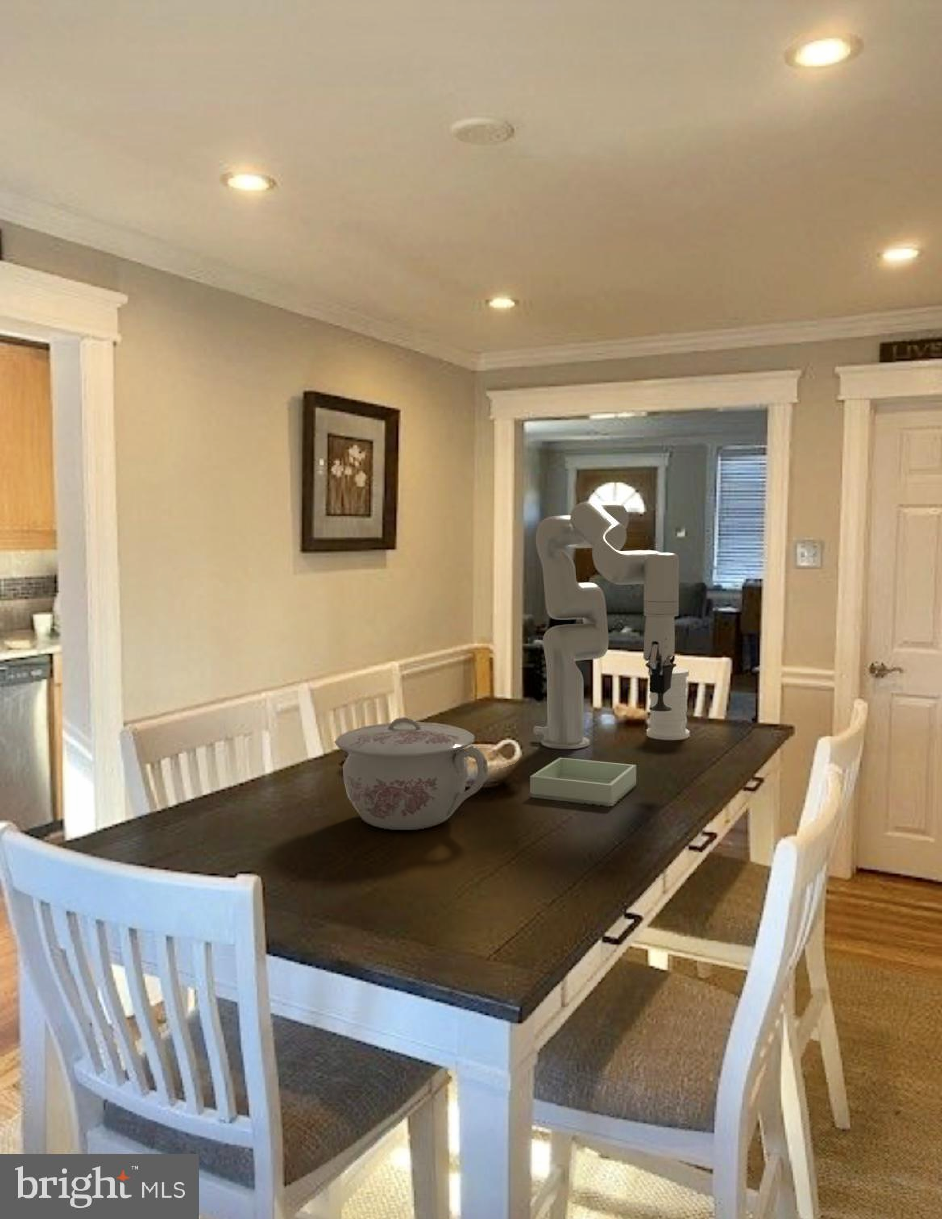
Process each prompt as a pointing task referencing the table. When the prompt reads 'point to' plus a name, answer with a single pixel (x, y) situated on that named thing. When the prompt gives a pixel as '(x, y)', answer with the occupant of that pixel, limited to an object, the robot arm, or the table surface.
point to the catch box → (583, 781)
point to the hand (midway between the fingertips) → (660, 689)
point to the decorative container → (675, 720)
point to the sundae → (668, 675)
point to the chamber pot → (409, 772)
